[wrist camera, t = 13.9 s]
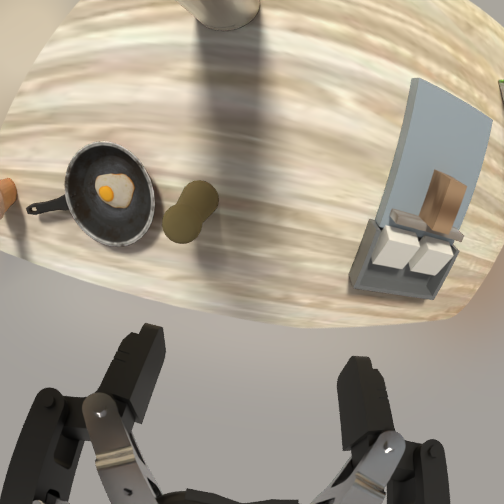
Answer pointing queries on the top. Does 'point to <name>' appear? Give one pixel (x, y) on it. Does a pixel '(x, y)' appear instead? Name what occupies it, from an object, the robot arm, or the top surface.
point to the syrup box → (502, 87)
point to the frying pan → (106, 194)
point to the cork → (190, 212)
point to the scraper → (436, 208)
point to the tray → (393, 271)
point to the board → (434, 152)
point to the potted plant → (7, 195)
